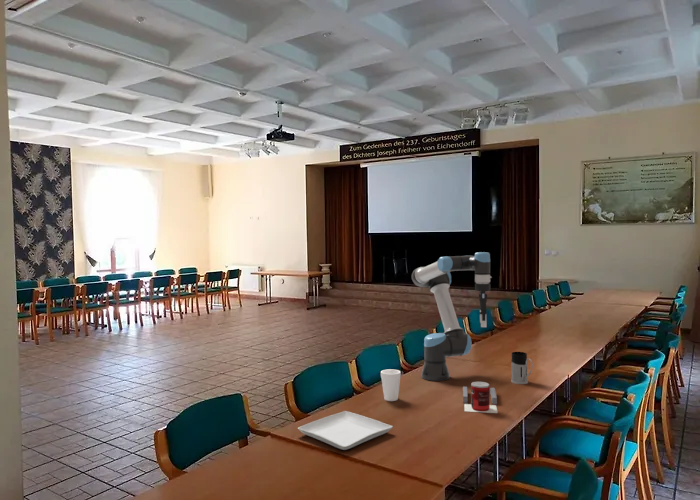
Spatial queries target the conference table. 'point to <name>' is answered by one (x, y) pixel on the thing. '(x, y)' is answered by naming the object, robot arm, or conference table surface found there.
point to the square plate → (345, 429)
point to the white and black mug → (520, 368)
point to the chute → (469, 409)
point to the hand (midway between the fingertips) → (483, 324)
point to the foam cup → (390, 384)
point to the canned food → (480, 396)
